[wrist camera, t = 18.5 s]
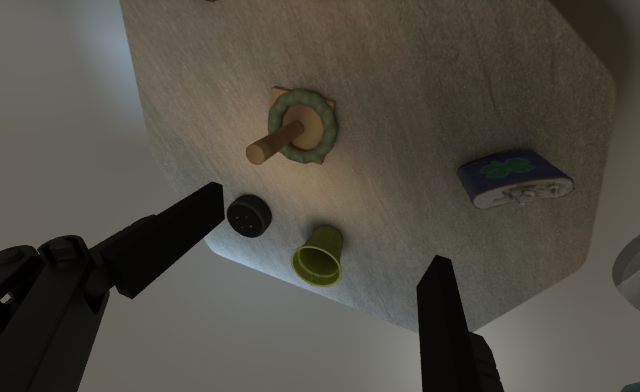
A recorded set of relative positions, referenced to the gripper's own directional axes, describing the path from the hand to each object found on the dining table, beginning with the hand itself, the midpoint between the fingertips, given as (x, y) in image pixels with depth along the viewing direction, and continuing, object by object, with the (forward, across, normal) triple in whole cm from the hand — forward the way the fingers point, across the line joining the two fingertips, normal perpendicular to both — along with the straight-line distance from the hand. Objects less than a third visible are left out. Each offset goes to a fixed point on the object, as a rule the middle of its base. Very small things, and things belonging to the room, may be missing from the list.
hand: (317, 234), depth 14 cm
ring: (+23, -10, -2) cm, 25 cm away
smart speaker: (+26, -19, -23) cm, 40 cm away
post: (+26, -11, -2) cm, 28 cm away
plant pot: (+26, -2, -23) cm, 35 cm away
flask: (+26, +18, 0) cm, 32 cm away
